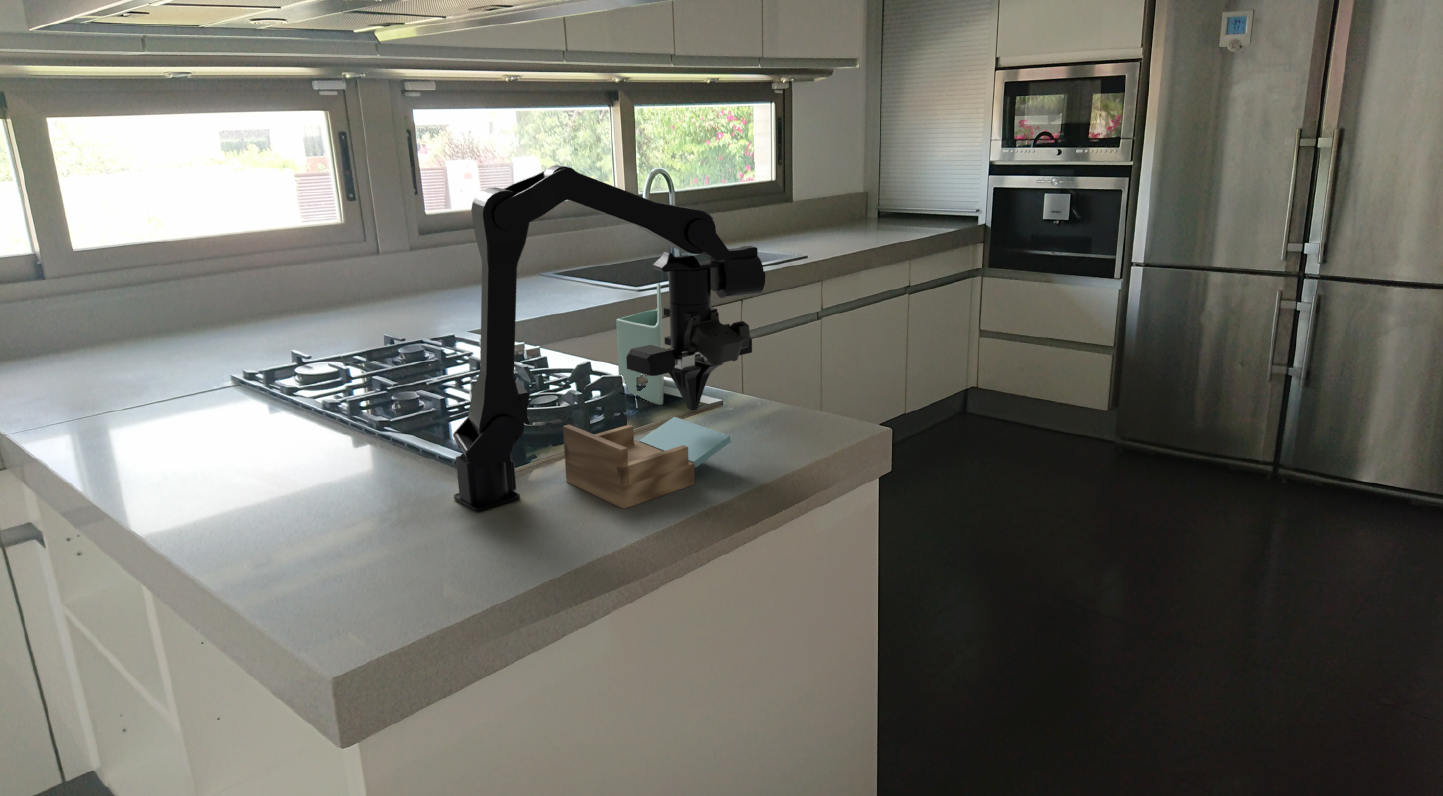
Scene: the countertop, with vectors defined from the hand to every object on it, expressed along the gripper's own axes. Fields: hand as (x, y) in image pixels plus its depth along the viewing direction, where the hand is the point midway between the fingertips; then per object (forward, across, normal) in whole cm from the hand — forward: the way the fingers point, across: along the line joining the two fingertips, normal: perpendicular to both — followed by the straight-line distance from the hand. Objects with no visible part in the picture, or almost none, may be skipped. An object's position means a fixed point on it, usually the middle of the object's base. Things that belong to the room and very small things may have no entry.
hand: (692, 409), depth 135 cm
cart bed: (+8, -11, 0) cm, 14 cm away
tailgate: (+5, -5, 0) cm, 7 cm away
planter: (+8, +17, +34) cm, 38 cm away
